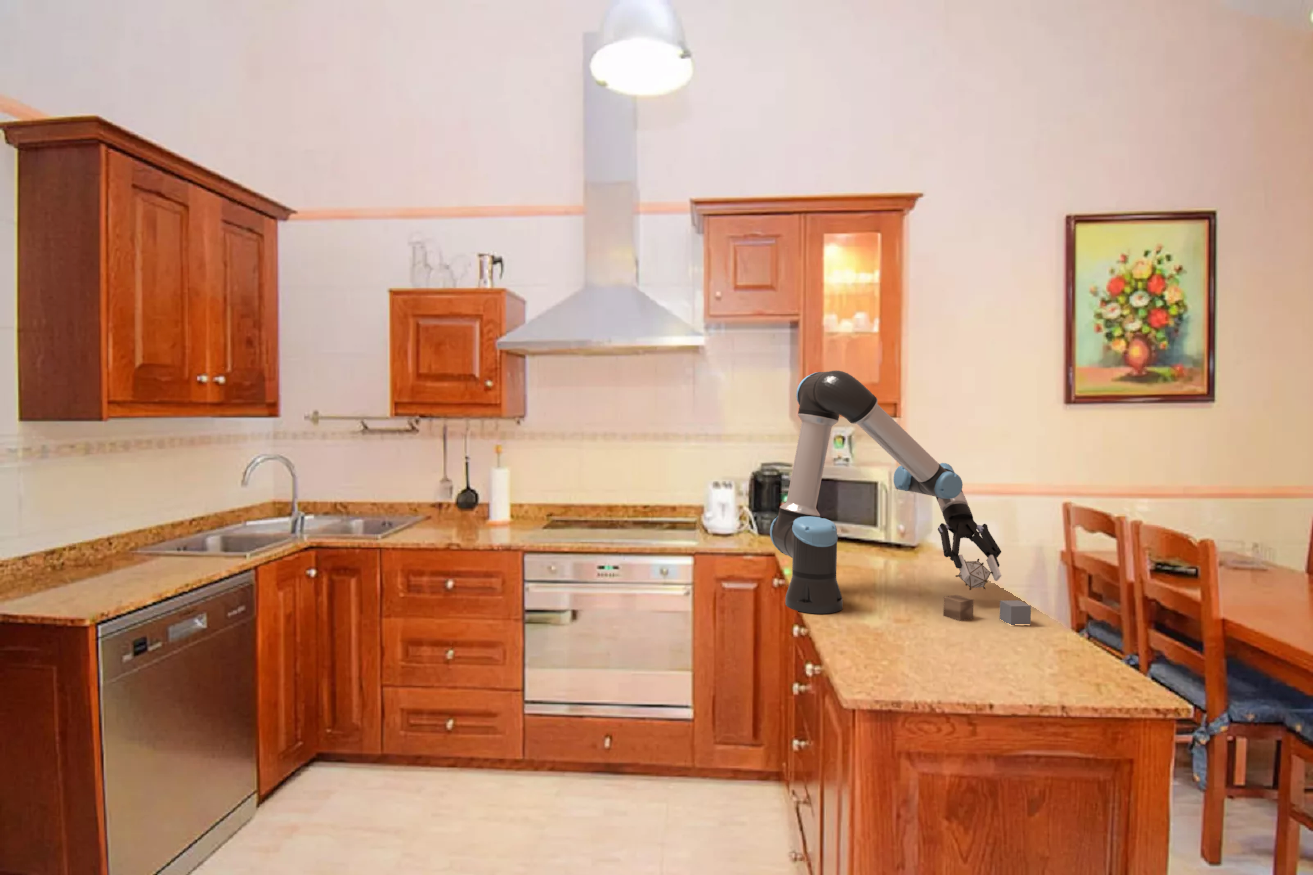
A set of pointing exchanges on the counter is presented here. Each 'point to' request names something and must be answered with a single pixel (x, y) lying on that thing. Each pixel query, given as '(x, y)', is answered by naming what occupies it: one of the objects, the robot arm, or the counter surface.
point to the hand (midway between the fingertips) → (982, 578)
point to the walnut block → (958, 607)
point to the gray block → (1015, 612)
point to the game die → (976, 574)
